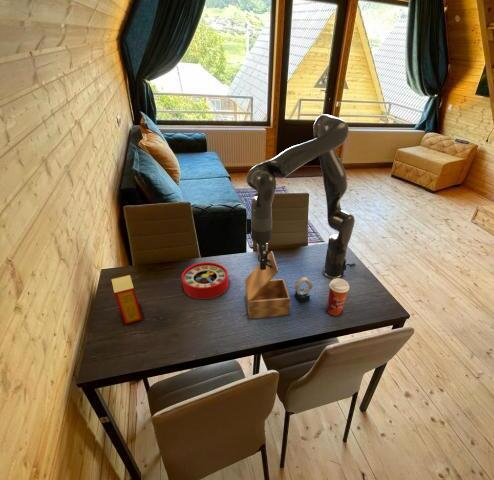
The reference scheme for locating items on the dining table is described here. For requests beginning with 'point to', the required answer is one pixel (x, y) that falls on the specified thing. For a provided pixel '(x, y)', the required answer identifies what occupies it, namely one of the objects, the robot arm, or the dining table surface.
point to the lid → (260, 277)
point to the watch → (303, 290)
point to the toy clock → (205, 280)
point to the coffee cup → (337, 296)
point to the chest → (270, 300)
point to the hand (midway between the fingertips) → (262, 264)
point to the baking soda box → (126, 299)
